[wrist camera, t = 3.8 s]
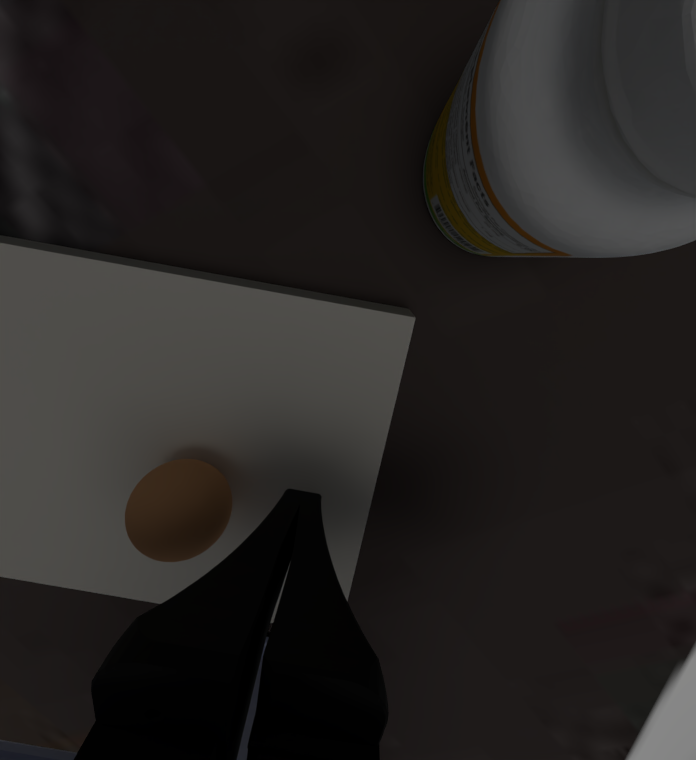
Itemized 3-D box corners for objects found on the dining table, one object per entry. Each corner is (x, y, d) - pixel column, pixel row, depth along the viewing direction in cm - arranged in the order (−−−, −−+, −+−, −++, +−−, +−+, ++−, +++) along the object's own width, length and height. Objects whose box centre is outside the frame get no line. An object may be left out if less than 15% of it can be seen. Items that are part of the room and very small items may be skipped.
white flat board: (408, 308, 13) (415, 317, 11) (342, 596, 19) (339, 634, 17) (-262, 188, 13) (-368, 176, 11) (-127, 516, 19) (-183, 545, 17)
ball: (242, 518, 15) (207, 594, 11) (162, 504, 15) (103, 577, 11) (248, 449, 13) (209, 512, 10) (160, 434, 13) (93, 492, 10)
